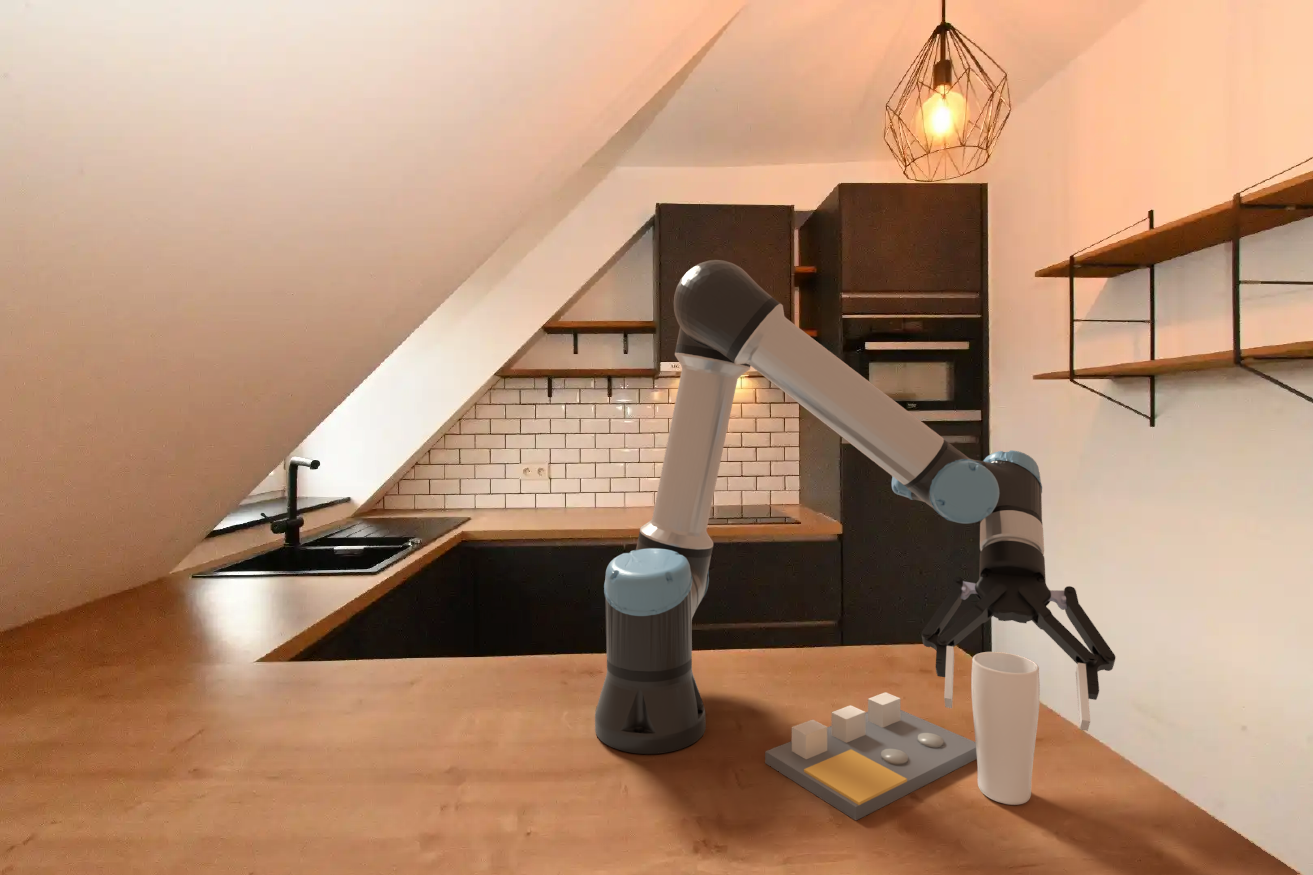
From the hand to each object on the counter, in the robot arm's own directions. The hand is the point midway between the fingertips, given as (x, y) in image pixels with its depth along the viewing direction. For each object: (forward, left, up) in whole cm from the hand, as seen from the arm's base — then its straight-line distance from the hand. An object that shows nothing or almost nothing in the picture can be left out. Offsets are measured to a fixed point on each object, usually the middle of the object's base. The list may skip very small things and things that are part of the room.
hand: (1013, 714), depth 76 cm
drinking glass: (0, -2, -9) cm, 9 cm away
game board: (-13, -8, -9) cm, 18 cm away
